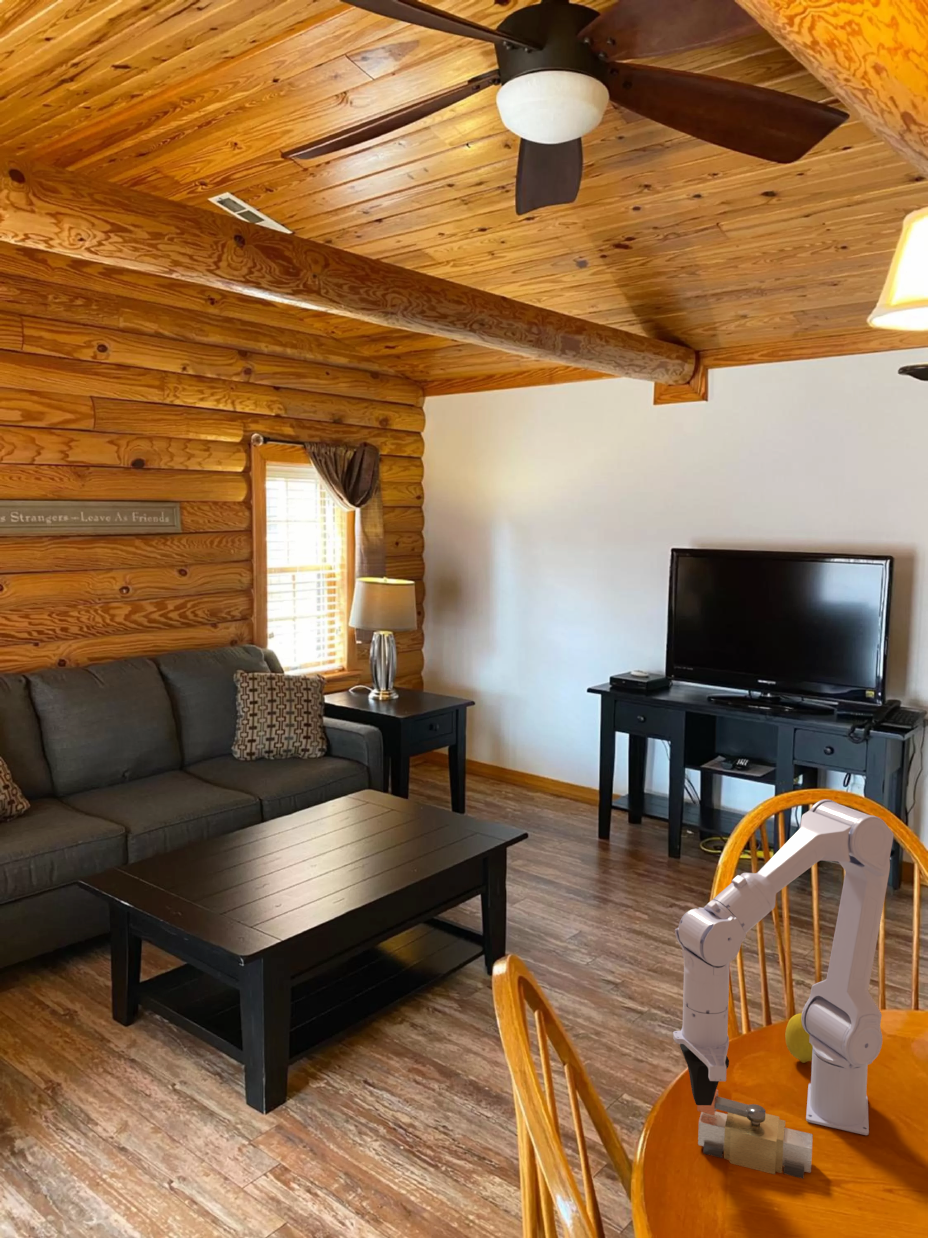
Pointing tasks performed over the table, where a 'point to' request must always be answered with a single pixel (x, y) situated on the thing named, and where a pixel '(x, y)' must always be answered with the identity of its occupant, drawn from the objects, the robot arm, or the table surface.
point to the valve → (756, 1143)
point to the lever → (734, 1108)
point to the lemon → (798, 1039)
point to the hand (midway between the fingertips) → (702, 1102)
